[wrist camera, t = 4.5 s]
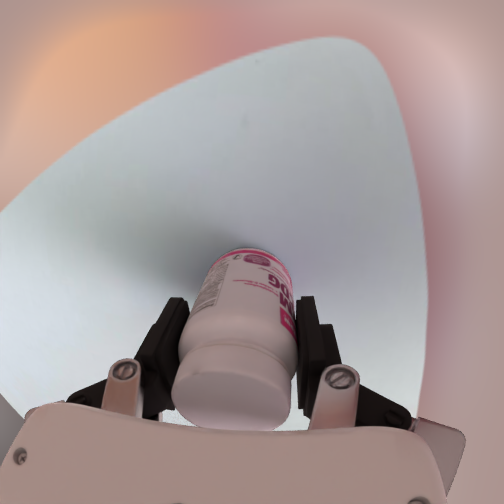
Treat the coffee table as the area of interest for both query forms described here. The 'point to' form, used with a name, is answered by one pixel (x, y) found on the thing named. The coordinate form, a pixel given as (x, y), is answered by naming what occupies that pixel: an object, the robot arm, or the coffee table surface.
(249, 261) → the pill bottle
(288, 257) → the coffee table surface
